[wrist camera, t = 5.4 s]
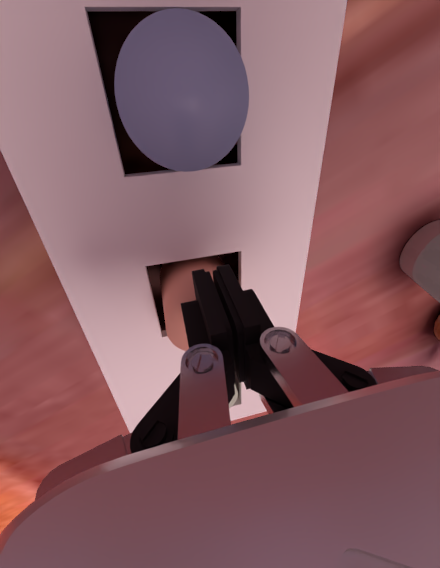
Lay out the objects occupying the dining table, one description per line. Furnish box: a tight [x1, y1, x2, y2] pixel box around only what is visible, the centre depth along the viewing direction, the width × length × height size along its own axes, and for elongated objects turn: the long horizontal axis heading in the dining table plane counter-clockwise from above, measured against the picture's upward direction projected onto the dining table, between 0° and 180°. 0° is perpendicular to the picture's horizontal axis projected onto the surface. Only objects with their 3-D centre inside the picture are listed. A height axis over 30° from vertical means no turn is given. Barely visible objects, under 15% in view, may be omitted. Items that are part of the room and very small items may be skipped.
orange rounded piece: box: [160, 255, 223, 351], centre depth 17 cm, size 4×4×5 cm
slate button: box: [114, 8, 249, 172], centre depth 11 cm, size 4×4×5 cm
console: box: [0, 0, 347, 433], centre depth 19 cm, size 30×14×5 cm, turn 3°
